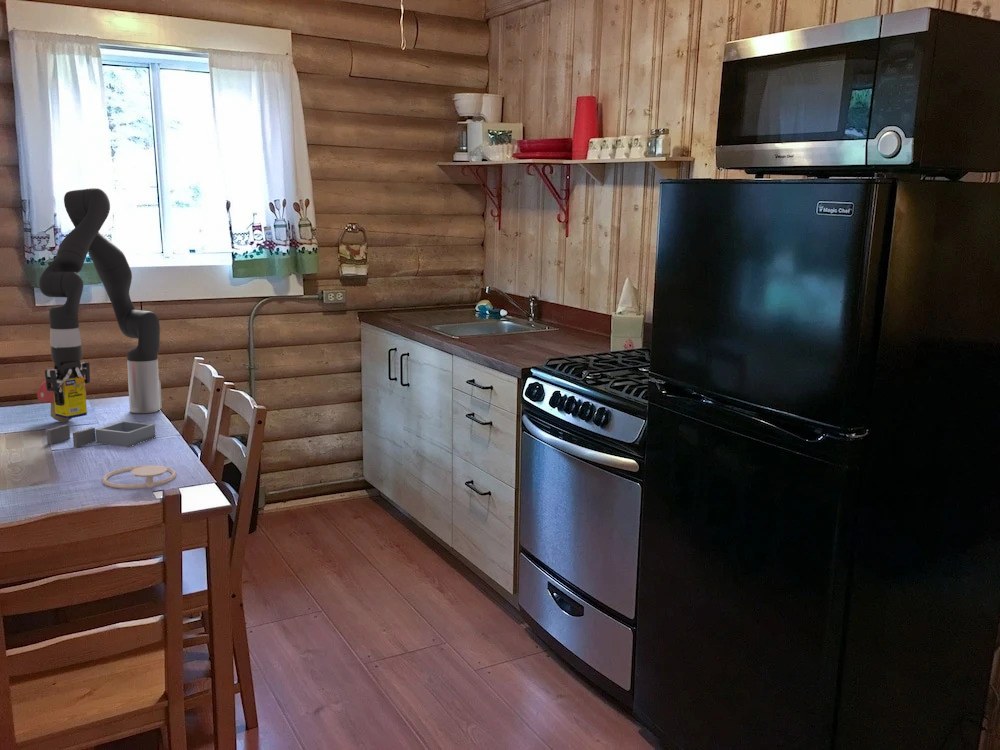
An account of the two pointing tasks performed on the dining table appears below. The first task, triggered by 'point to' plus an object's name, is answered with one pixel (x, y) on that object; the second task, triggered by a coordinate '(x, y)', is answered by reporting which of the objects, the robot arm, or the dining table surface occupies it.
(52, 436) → the grey blocks
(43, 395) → the decorative mushroom
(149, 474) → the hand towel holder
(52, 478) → the dining table surface
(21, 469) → the dining table surface
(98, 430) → the tray
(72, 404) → the supplement box
